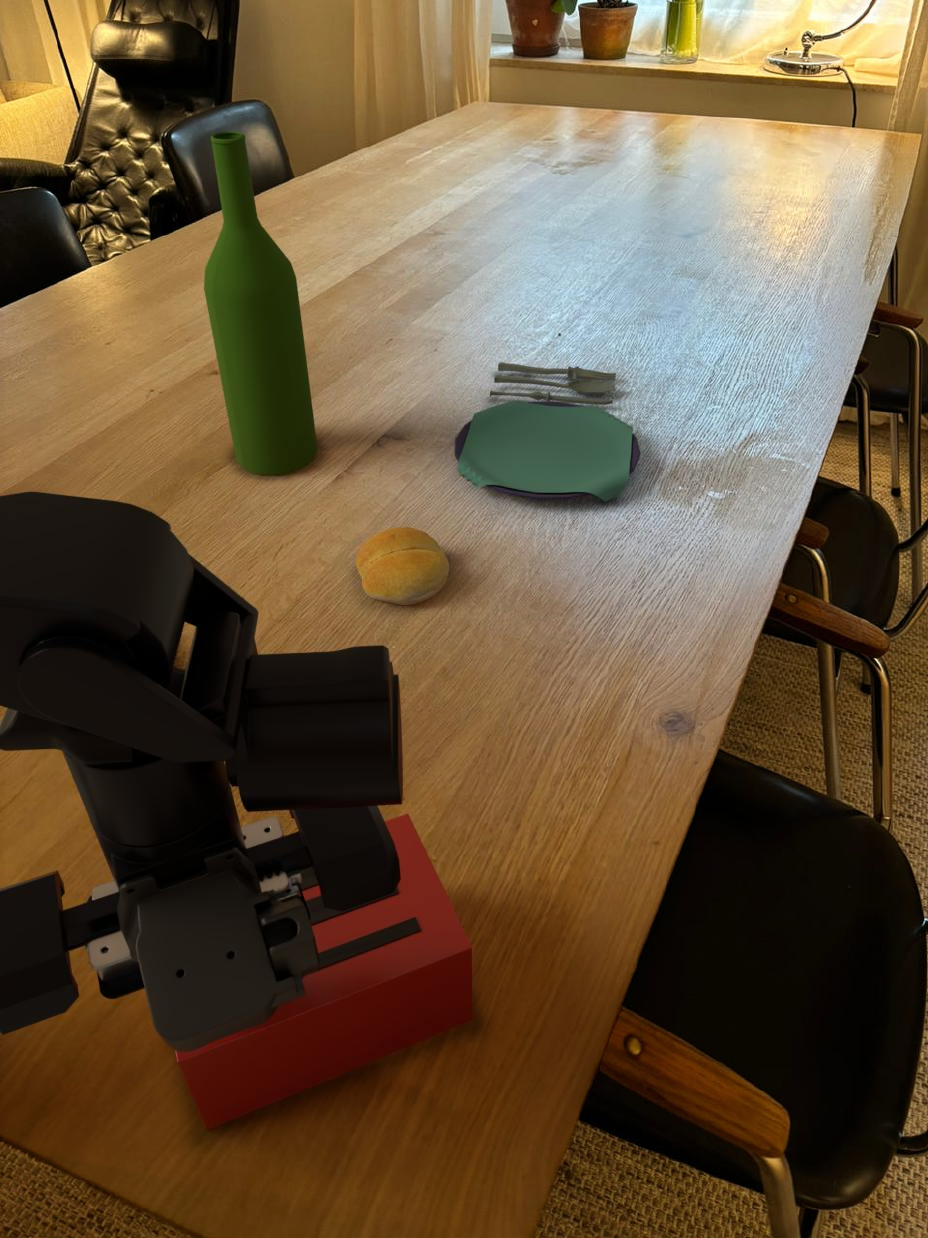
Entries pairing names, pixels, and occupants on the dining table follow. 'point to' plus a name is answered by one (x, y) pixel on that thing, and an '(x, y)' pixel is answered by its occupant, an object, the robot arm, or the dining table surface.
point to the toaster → (348, 994)
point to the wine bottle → (257, 328)
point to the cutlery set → (549, 441)
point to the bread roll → (402, 566)
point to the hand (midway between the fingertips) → (222, 986)
